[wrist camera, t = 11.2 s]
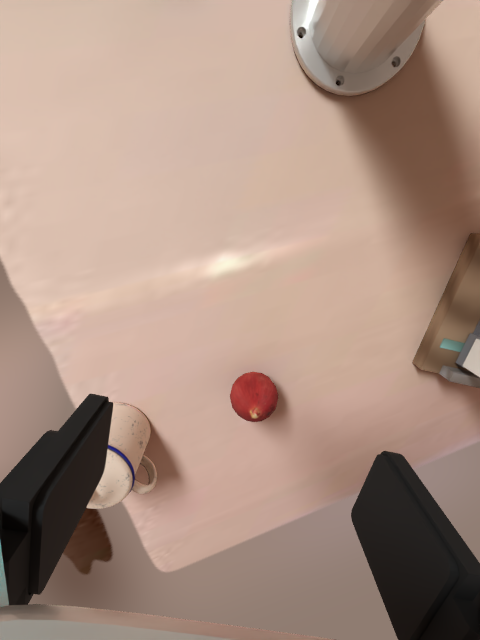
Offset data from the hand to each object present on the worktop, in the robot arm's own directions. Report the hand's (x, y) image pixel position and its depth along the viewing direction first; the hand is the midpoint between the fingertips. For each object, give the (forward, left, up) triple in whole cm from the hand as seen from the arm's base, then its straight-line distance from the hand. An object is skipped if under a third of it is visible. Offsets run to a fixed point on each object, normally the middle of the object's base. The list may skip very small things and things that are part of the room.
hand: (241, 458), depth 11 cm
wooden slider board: (-4, +30, -28) cm, 41 cm away
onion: (+12, +5, -28) cm, 31 cm away
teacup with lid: (+24, -10, -28) cm, 39 cm away
